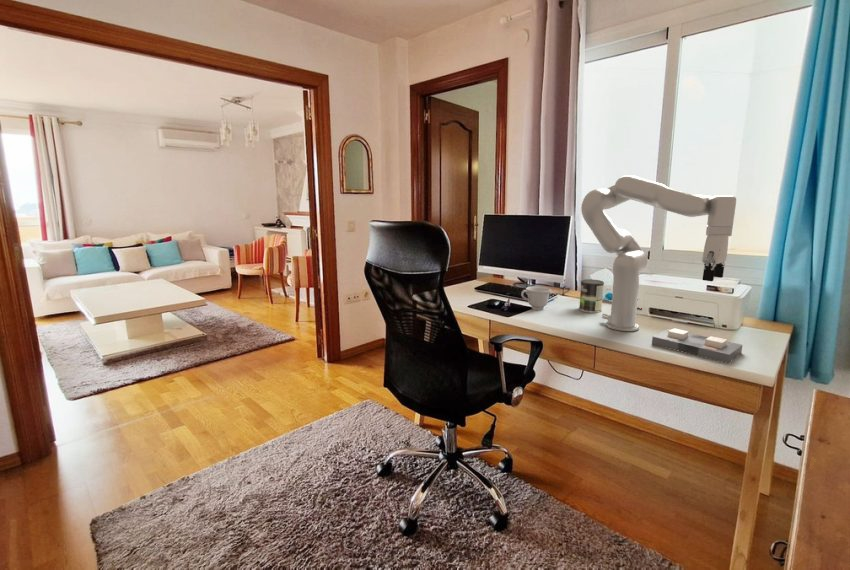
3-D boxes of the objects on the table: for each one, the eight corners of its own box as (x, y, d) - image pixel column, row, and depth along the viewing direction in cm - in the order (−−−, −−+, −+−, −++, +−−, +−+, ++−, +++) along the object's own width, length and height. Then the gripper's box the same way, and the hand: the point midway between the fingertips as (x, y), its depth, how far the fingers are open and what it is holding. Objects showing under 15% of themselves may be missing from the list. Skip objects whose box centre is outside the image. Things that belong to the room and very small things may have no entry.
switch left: (667, 338, 155) (668, 331, 155) (673, 335, 158) (673, 328, 158) (682, 341, 151) (683, 334, 151) (687, 338, 155) (688, 331, 154)
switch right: (704, 347, 146) (705, 339, 146) (709, 343, 149) (710, 336, 149) (721, 351, 142) (722, 342, 142) (726, 347, 145) (727, 339, 145)
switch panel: (651, 344, 156) (652, 336, 155) (667, 336, 164) (668, 328, 164) (728, 363, 137) (729, 354, 137) (741, 352, 146) (742, 344, 145)
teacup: (515, 306, 210) (516, 287, 208) (542, 304, 213) (543, 285, 211) (526, 313, 199) (527, 292, 197) (555, 310, 202) (556, 290, 200)
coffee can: (584, 313, 197) (586, 283, 194) (575, 307, 208) (577, 279, 205) (605, 312, 198) (608, 283, 195) (596, 306, 208) (598, 279, 205)
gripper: (715, 229, 156) (709, 274, 159) (697, 232, 145) (691, 280, 149) (739, 230, 150) (732, 277, 154) (723, 233, 139) (716, 283, 143)
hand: (712, 278), depth 151 cm, fingers open, 9 cm apart
